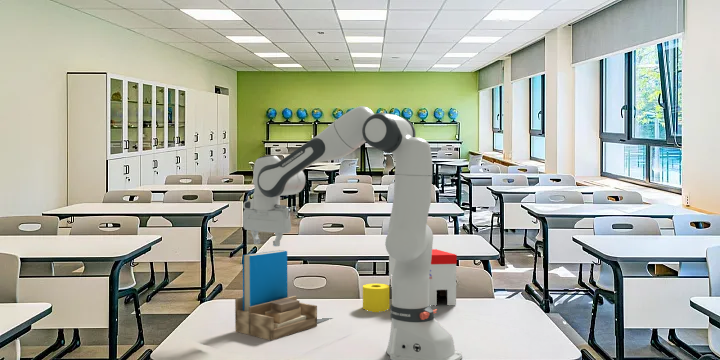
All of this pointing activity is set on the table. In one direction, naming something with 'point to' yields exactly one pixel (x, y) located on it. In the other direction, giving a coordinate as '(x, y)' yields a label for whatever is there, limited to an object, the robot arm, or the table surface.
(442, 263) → the red-lidded white box
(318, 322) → the mat
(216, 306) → the table surface
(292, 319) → the offcut large
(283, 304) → the offcut small
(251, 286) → the book
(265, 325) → the rack
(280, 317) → the offcut medium
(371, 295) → the tape roll
